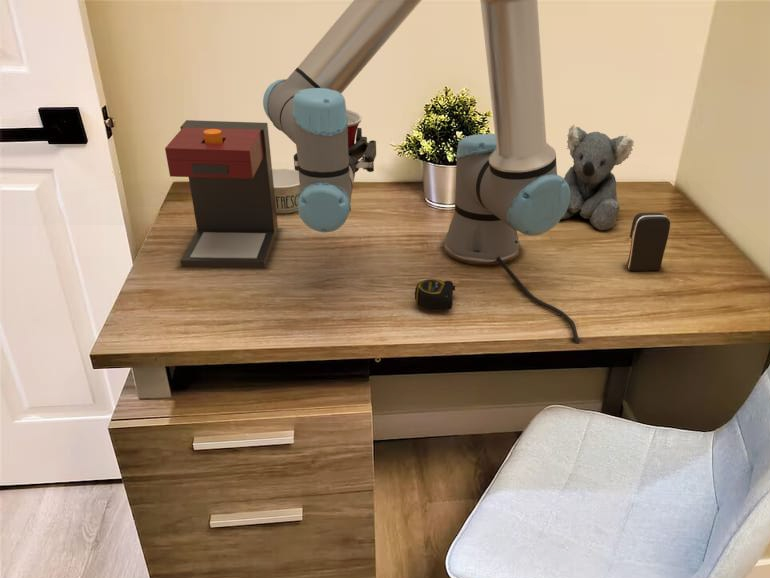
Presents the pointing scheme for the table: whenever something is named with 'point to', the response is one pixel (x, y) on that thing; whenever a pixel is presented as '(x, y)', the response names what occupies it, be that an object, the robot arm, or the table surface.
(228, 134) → the coffee maker
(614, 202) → the koala plush
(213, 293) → the table surface
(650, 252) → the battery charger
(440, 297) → the tape measure
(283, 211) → the food container
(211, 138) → the button
